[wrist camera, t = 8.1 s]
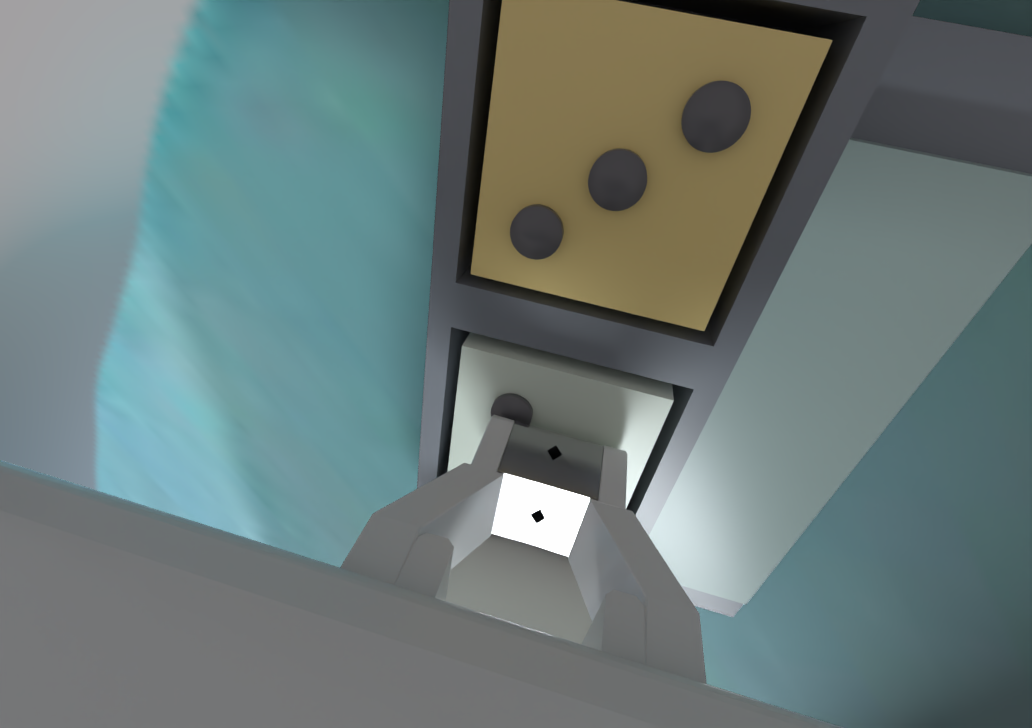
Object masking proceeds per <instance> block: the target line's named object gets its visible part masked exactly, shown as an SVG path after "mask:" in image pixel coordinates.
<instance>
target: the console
mask: <svg viewBox="0 0 1032 728" xmlns="http://www.w3.org/2000/svg"><path fill="white" fill-rule="evenodd" d="M618 1H624V2H629V3H634V4H640V5H645V6H651V7H656V8H661V9H667V10H672V11H678V12H683V13H689V14H694V15H699V16H705V17H710V18H716V19H721V20H727V21H732V22H737V23H743V24H748V25H754V26H759V27H765V28H770V29H775V30H781V31H786V32H792V33H797V34H802V35H808V36H813V37H819V38H824V39H830V40H833V41H832V43H831V45H830V48H829V50H828V52H827V54H826V57H825V59H824V61H823V64H822V66H821V68H820V70H819V73H818V75H817V77H816V79H815V82H814V84H813V86H812V88H811V91H810V93H809V95H808V98H807V100H806V102H805V104H804V107H803V109H802V111H801V113H800V116H799V118H798V120H797V122H796V125H795V127H794V129H793V132H792V134H791V136H790V138H789V141H788V143H787V145H786V147H785V150H784V152H783V154H782V156H781V159H780V161H779V163H778V165H777V168H776V170H775V172H774V175H773V177H772V179H771V181H770V184H769V186H768V188H767V190H766V193H765V195H764V197H763V199H762V202H761V204H760V206H759V209H758V211H757V213H756V215H755V218H754V220H753V222H752V224H751V227H750V229H749V231H748V233H747V236H746V238H745V240H744V242H743V245H742V247H741V249H740V252H739V254H738V256H737V258H736V261H735V263H734V265H733V267H732V270H731V272H730V274H729V276H728V279H727V281H726V283H725V286H724V288H723V290H722V292H721V295H720V297H719V299H718V301H717V304H716V306H715V308H714V310H713V313H712V315H711V317H710V320H709V322H708V324H707V326H706V329H705V331H700V330H696V329H692V328H688V327H684V326H680V325H676V324H672V323H668V322H664V321H660V320H655V319H651V318H647V317H643V316H639V315H635V314H631V313H627V312H623V311H619V310H615V309H611V308H607V307H602V306H598V305H594V304H590V303H586V302H582V301H578V300H574V299H570V298H566V297H562V296H558V295H553V294H549V293H545V292H541V291H537V290H533V289H529V288H525V287H521V286H517V285H513V284H509V283H504V282H500V281H496V280H492V279H488V278H484V277H480V276H476V275H472V274H471V265H472V256H473V248H474V239H475V230H476V222H477V213H478V204H479V196H480V187H481V179H482V170H483V161H484V153H485V144H486V135H487V127H488V118H489V109H490V101H491V92H492V84H493V75H494V66H495V58H496V49H497V40H498V32H499V23H500V14H501V6H502V0H449V15H448V30H447V45H446V61H445V76H444V91H443V106H442V121H441V136H440V151H439V166H438V181H437V196H436V211H435V226H434V241H433V256H432V271H431V286H430V301H429V316H428V331H427V346H426V361H425V376H424V391H423V406H422V421H421V436H420V451H419V466H418V481H417V489H418V488H420V487H421V486H423V485H425V484H427V483H429V482H430V481H432V480H434V479H436V478H438V477H439V476H441V475H443V474H445V473H447V471H448V463H449V454H450V445H451V437H452V428H453V419H454V411H455V402H456V393H457V385H458V376H459V367H460V359H461V350H462V345H463V343H464V342H465V340H466V338H467V337H468V335H469V334H470V332H472V333H476V334H480V335H484V336H488V337H492V338H495V339H499V340H503V341H507V342H511V343H515V344H519V345H523V346H527V347H531V348H534V349H538V350H542V351H546V352H550V353H554V354H558V355H562V356H566V357H570V358H573V359H577V360H581V361H585V362H589V363H593V364H597V365H601V366H605V367H609V368H612V369H616V370H620V371H624V372H628V373H632V374H636V375H640V376H644V377H648V378H651V379H655V380H659V381H663V382H667V383H671V384H672V386H673V397H674V401H673V404H672V406H671V408H670V411H669V413H668V415H667V417H666V420H665V422H664V424H663V426H662V429H661V431H660V433H659V435H658V438H657V440H656V442H655V444H654V447H653V449H652V451H651V454H650V456H649V458H648V460H647V463H646V465H645V467H644V469H643V472H642V474H641V476H640V478H639V481H638V483H637V485H636V488H635V490H634V492H633V494H632V497H631V499H630V501H629V503H628V506H627V508H626V509H627V510H630V511H633V513H634V514H635V516H636V517H637V519H638V520H639V522H640V523H641V525H642V527H643V528H644V530H645V531H646V533H647V534H648V536H649V537H650V539H651V540H652V542H653V543H654V545H655V547H656V548H657V550H658V551H659V553H660V554H661V556H662V557H663V559H664V560H665V562H666V563H667V565H668V567H669V568H670V570H671V571H672V573H673V574H674V576H675V577H676V579H677V580H678V582H679V583H680V585H681V587H682V588H683V590H684V591H685V593H686V594H687V596H688V597H689V599H690V600H691V602H692V603H693V605H694V606H697V607H700V608H704V609H707V610H710V611H714V612H717V613H720V614H724V615H727V616H730V617H734V616H735V614H736V613H737V612H738V610H739V609H740V608H741V607H742V605H743V604H745V605H746V604H747V603H748V602H749V600H750V599H751V598H752V597H753V595H754V594H755V593H756V592H757V590H758V589H759V588H760V587H761V585H762V584H763V583H764V581H765V580H766V579H767V578H768V576H769V575H770V574H771V573H772V571H773V570H774V569H775V568H776V566H777V565H778V564H779V563H780V561H781V560H782V559H783V557H784V556H785V555H786V554H787V552H788V551H789V550H790V549H791V547H792V546H793V545H794V544H795V542H796V541H797V540H798V538H799V537H800V536H801V535H802V533H803V532H804V531H805V530H806V528H807V527H808V526H809V525H810V523H811V522H812V521H813V520H814V518H815V517H816V516H817V514H818V513H819V512H820V511H821V509H822V508H823V507H824V506H825V504H826V503H827V502H828V501H829V499H830V498H831V497H832V496H833V494H834V493H835V492H836V490H837V489H838V488H839V487H840V485H841V484H842V483H843V482H844V480H845V479H846V478H847V477H848V475H849V474H850V473H851V471H852V470H853V469H854V468H855V466H856V465H857V464H858V463H859V461H860V460H861V459H862V458H863V456H864V455H865V454H866V453H867V451H868V450H869V449H870V447H871V446H872V445H873V444H874V442H875V441H876V440H877V439H878V437H879V436H880V435H881V434H882V432H883V431H884V430H885V429H886V427H887V426H888V425H889V423H890V422H891V421H892V420H893V418H894V417H895V416H896V415H897V413H898V412H899V411H900V410H901V408H902V407H903V406H904V404H905V403H906V402H907V401H908V399H909V398H910V397H911V396H912V394H913V393H914V392H915V391H916V389H917V388H918V387H919V386H920V384H921V383H922V382H923V380H924V379H925V378H926V377H927V375H928V374H929V373H930V372H931V370H932V369H933V368H934V367H935V365H936V364H937V363H938V362H939V360H940V359H941V358H942V356H943V355H944V354H945V353H946V351H947V350H948V349H949V348H950V346H951V345H952V344H953V343H954V341H955V340H956V339H957V337H958V336H959V335H960V334H961V332H962V331H963V330H964V329H965V327H966V326H967V325H968V324H969V322H970V321H971V320H972V319H973V317H974V316H975V315H976V313H977V312H978V311H979V310H980V308H981V307H982V306H983V305H984V303H985V302H986V301H987V300H988V298H989V297H990V296H991V295H992V293H993V292H994V291H995V289H996V288H997V287H998V286H999V284H1000V283H1001V282H1002V281H1003V279H1004V278H1005V277H1006V276H1007V274H1008V273H1009V272H1010V270H1011V269H1012V268H1013V267H1014V265H1015V264H1016V263H1017V262H1018V260H1019V259H1020V258H1021V257H1022V255H1023V254H1024V253H1025V252H1026V250H1027V249H1028V248H1029V246H1030V245H1031V244H1032V37H1029V36H1023V35H1018V34H1012V33H1006V32H1001V31H995V30H989V29H984V28H978V27H973V26H967V25H961V24H956V23H950V22H944V21H939V20H933V19H927V18H922V17H916V16H912V15H913V13H914V11H915V9H916V7H917V5H918V3H919V1H920V0H618Z"/></svg>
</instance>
